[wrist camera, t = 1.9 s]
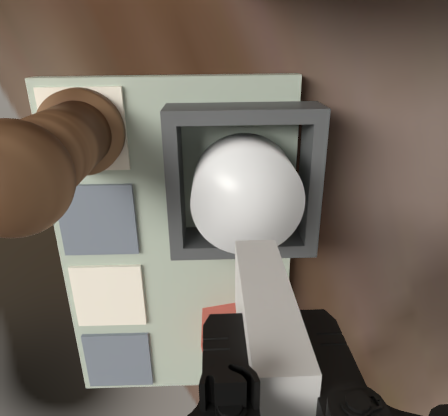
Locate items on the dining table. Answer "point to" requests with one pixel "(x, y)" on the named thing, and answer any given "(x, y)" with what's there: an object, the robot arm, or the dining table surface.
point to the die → (216, 310)
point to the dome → (245, 192)
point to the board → (169, 216)
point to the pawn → (54, 157)
